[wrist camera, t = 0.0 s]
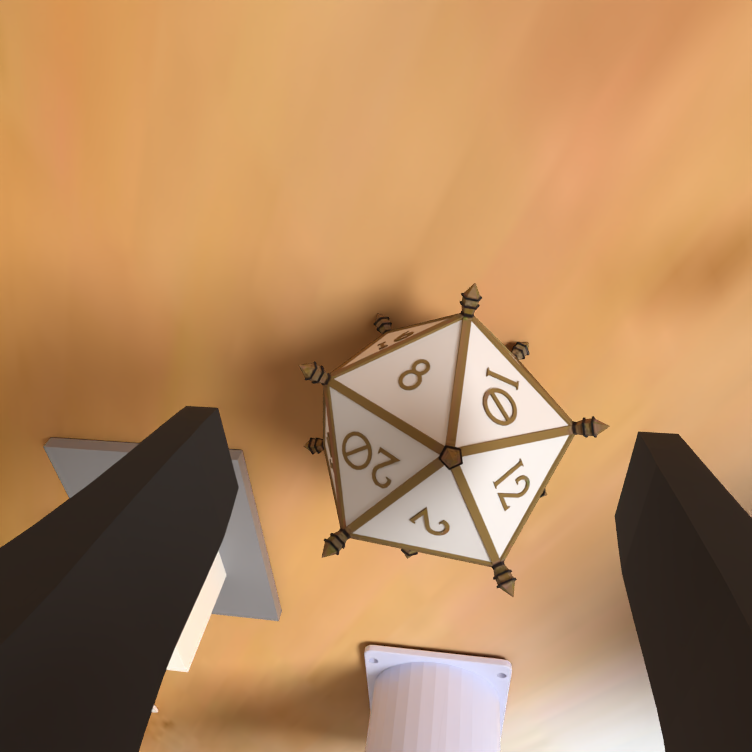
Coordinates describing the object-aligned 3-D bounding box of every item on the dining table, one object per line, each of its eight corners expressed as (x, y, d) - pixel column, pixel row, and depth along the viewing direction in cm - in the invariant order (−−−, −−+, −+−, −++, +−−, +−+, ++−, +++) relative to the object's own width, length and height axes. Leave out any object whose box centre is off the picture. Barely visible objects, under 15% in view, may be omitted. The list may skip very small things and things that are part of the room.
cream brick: (226, 575, 31) (187, 672, 27) (141, 567, 31) (91, 660, 27) (206, 514, 28) (160, 612, 24) (114, 507, 28) (54, 601, 24)
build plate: (281, 611, 33) (278, 620, 32) (128, 594, 34) (123, 604, 34) (242, 450, 26) (237, 459, 25) (50, 437, 27) (42, 446, 27)
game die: (413, 337, 26) (231, 501, 21) (449, 177, 18) (184, 376, 14) (591, 474, 23) (424, 694, 19) (717, 350, 16) (490, 663, 11)
